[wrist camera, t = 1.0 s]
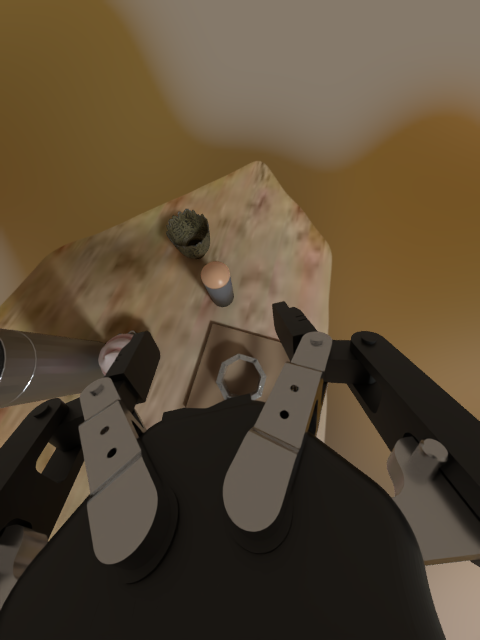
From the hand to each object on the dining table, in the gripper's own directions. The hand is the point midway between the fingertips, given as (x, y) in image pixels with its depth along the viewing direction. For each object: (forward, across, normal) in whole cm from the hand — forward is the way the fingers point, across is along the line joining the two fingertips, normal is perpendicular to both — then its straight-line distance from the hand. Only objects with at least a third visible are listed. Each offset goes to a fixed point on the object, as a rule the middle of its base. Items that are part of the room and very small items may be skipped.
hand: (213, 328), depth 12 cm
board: (+14, 0, +21) cm, 25 cm away
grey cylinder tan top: (+25, 0, +9) cm, 27 cm away
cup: (+33, +4, +2) cm, 33 cm away
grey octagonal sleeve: (+13, 0, +20) cm, 24 cm away
